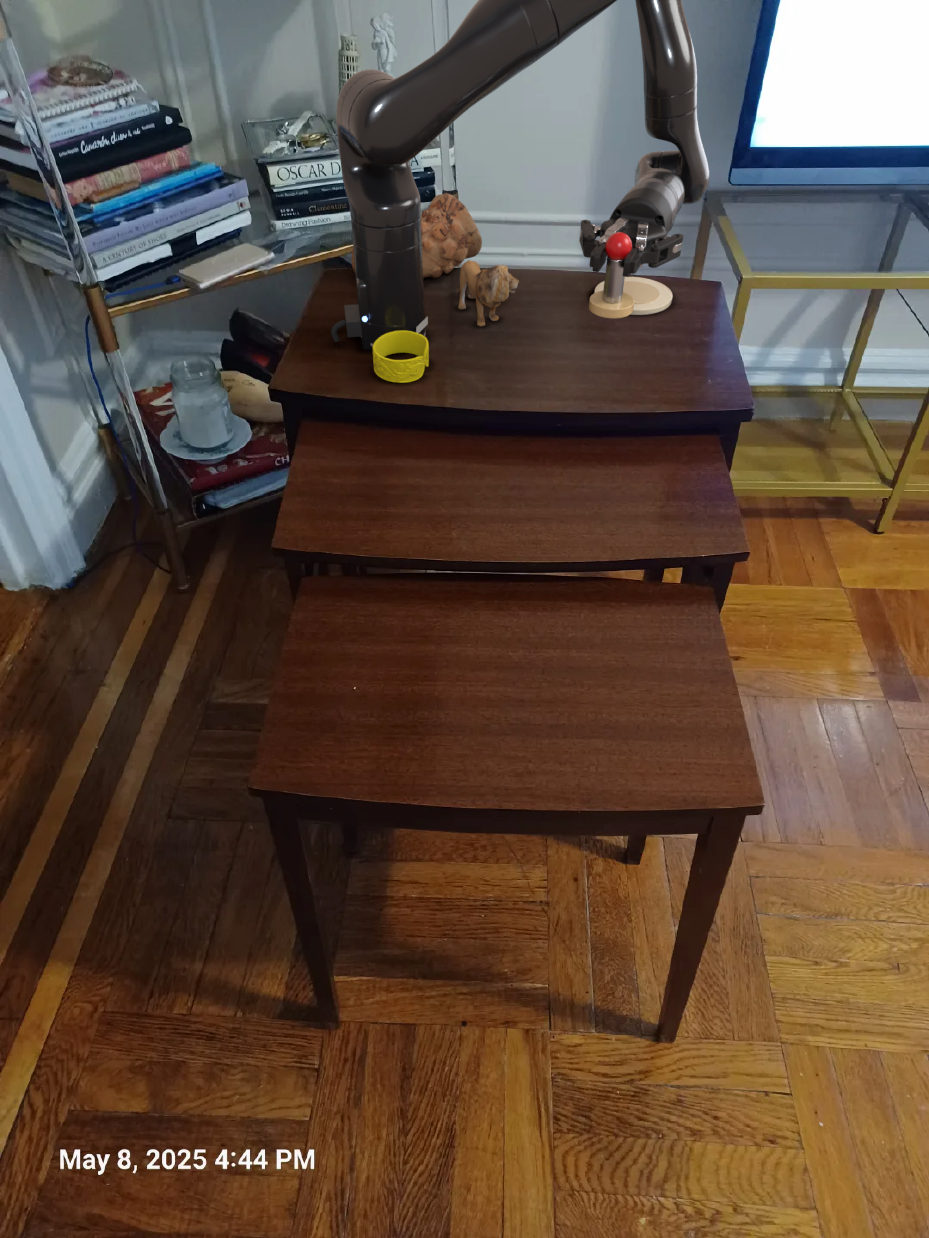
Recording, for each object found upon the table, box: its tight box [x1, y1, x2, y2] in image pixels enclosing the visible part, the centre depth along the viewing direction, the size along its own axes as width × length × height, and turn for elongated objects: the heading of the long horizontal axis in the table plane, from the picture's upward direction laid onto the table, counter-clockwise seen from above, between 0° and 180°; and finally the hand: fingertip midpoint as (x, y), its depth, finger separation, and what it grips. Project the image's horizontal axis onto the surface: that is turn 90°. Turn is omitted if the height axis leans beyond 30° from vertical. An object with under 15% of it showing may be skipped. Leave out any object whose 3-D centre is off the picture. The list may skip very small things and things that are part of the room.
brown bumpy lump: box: [350, 192, 483, 279], centre depth 141 cm, size 19×11×15 cm
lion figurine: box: [452, 259, 520, 327], centre depth 130 cm, size 15×5×9 cm, turn 33°
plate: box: [593, 276, 674, 316], centre depth 137 cm, size 12×12×1 cm
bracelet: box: [372, 330, 430, 384], centre depth 120 cm, size 7×8×3 cm
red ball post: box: [588, 232, 634, 319], centre depth 109 cm, size 6×6×9 cm
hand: (611, 266), depth 106 cm, fingers closed on red ball post, 3 cm apart
